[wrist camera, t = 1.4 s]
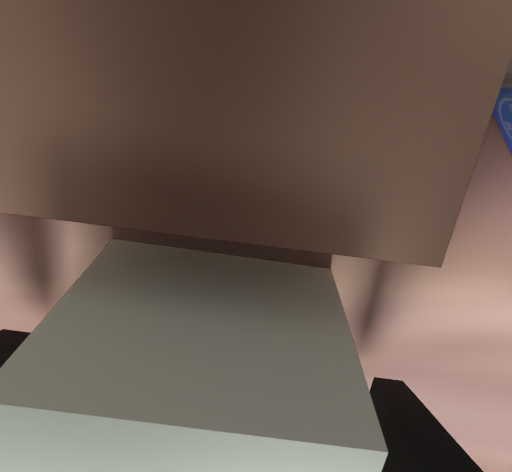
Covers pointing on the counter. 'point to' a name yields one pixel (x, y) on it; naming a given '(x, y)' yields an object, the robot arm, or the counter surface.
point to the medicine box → (505, 107)
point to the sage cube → (190, 371)
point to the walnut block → (252, 117)
